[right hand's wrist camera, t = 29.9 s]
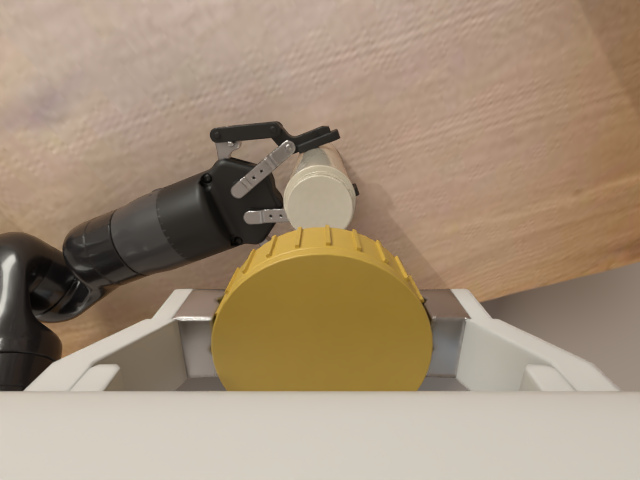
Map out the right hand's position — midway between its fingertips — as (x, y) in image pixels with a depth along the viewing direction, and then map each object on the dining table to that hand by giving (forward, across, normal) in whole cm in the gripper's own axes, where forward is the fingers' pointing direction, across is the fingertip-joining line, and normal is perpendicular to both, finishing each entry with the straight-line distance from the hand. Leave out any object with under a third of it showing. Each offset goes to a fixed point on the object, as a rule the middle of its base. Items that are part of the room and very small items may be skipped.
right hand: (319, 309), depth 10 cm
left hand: (+23, -2, -1) cm, 23 cm away
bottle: (+29, 0, 0) cm, 29 cm away
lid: (-2, 0, 0) cm, 2 cm away
